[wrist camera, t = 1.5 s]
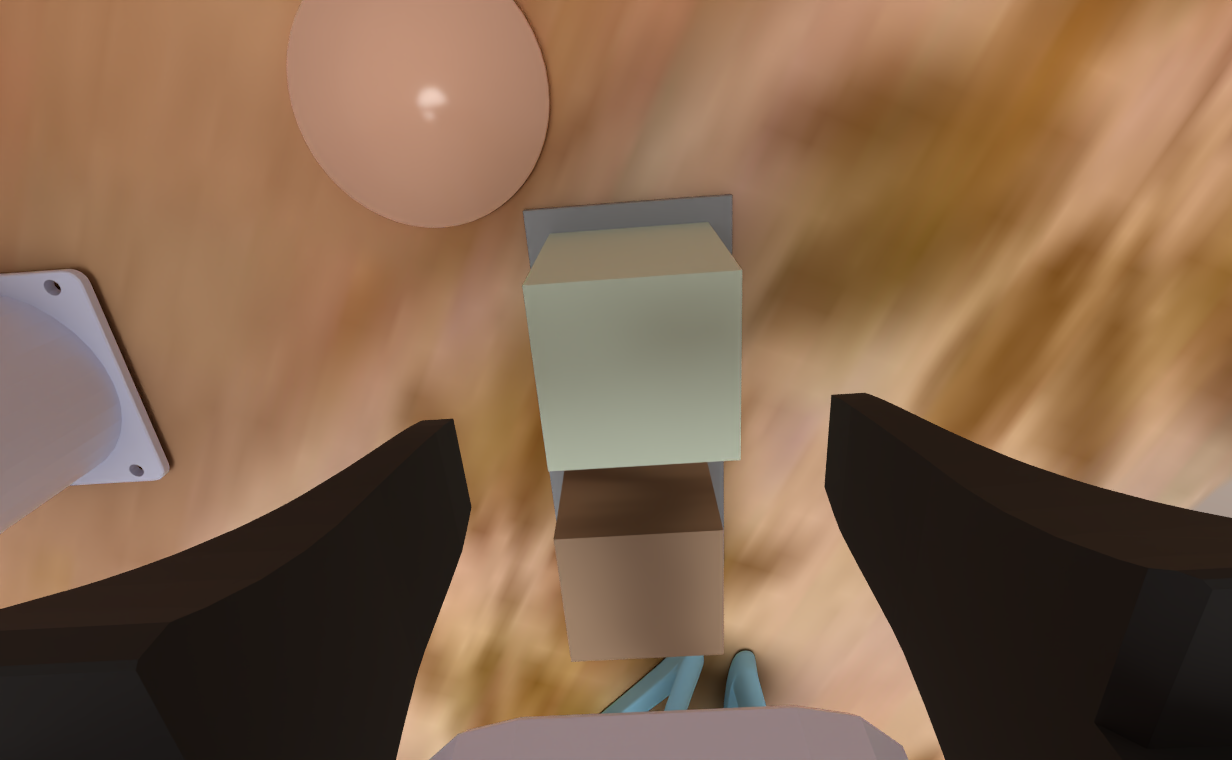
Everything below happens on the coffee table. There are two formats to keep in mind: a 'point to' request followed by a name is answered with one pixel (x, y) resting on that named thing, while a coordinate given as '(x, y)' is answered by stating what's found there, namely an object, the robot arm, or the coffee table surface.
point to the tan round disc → (420, 103)
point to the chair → (691, 685)
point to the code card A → (628, 218)
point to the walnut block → (641, 562)
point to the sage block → (636, 346)
